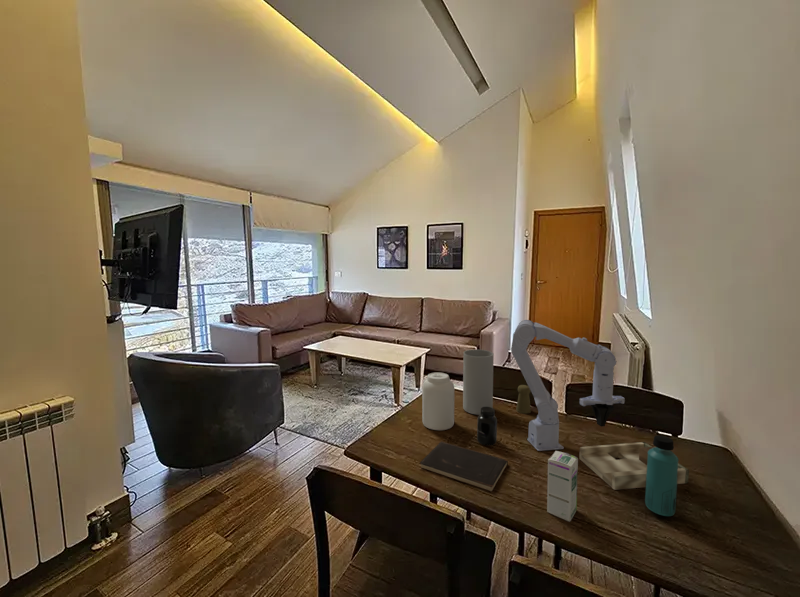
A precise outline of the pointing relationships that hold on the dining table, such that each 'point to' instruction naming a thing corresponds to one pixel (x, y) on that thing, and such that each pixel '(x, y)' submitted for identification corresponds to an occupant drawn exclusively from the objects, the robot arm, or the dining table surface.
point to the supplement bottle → (487, 426)
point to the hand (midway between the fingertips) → (600, 425)
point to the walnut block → (644, 454)
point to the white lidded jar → (438, 402)
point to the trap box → (622, 465)
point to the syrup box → (562, 485)
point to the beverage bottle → (661, 477)
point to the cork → (523, 400)
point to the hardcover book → (465, 465)
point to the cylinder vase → (477, 380)
